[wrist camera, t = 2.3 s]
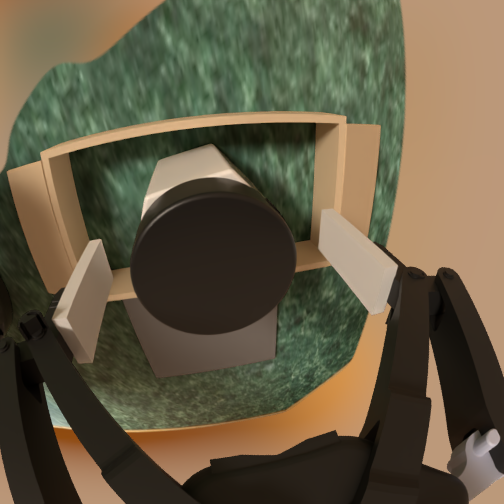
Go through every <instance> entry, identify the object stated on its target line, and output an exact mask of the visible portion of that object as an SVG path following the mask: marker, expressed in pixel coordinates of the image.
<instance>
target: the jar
mask: <svg viewBox="0 0 504 504" xmlns="http://www.w3.org/2000/svg"><path fill="white" fill-rule="evenodd" d="M296 264H297V251H296V245H295V241H294V238H293V235H292V233H291V231H290V229H289V227H288V225H287V224H286V222H285V220H284V218H283V216H281V214H280V212H279V211H278V210H277V209H276V207H275V206H274V205H273V204H272V203H271V202H270V201H269V200H268V199H267V198H265V197H264V196H263V195H262V193H261V192H260V191H259V190H258V189H257V188H256V187H255V185H254V184H253V183H252V182H251V181H250V180H249V179H248V178H247V177H246V176H245V175H244V174H243V173H242V172H241V171H240V170H239V169H238V168H237V167H236V166H235V165H234V164H233V163H232V162H231V161H230V160H229V159H228V158H227V157H226V156H225V155H224V154H223V153H222V152H221V151H220V150H219V149H218V148H217V147H216V146H215V145H214V144H208V145H204V146H201V147H198V148H195V149H191V150H188V151H185V152H182V153H179V154H176V155H172V156H169V157H166V158H163V159H161V160H158V162H157V164H156V167H155V170H154V172H153V175H152V178H151V181H150V184H149V187H148V190H147V193H146V196H145V199H144V204H143V210H142V216H141V222H140V224H139V227H138V230H137V234H136V238H135V242H134V246H133V250H132V254H131V260H130V276H131V281H132V285H133V289H134V291H135V294H136V296H137V298H138V299H139V301H140V303H141V304H142V305H143V307H144V308H145V309H146V310H147V311H148V312H149V313H150V314H151V315H152V316H153V317H154V318H156V319H157V320H158V321H160V322H161V323H163V324H165V325H166V326H168V327H171V328H173V329H175V330H178V331H181V332H185V333H190V334H196V335H218V334H225V333H229V332H233V331H237V330H240V329H242V328H245V327H247V326H249V325H251V324H253V323H255V322H257V321H259V320H260V319H262V318H263V317H264V316H266V315H267V314H268V313H270V312H271V311H272V310H273V309H274V308H275V307H276V306H277V305H278V304H279V303H280V301H281V300H282V299H283V297H284V296H285V294H286V293H287V291H288V289H289V287H290V285H291V283H292V280H293V278H294V274H295V270H296Z"/></svg>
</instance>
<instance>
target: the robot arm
mask: <svg viewBox="0 0 504 504" xmlns="http://www.w3.org/2000/svg"><path fill="white" fill-rule="evenodd" d="M318 249H319V250H320V252H321V253H322V254H323V255H324V256H325V258H326V259H327V260H328V261H329V262H330V264H331V265H332V266H333V267H334V268H335V270H336V271H337V272H338V273H339V275H340V276H341V277H342V278H343V280H344V281H345V282H346V283H347V285H348V286H349V287H350V288H351V290H352V291H353V292H354V293H355V295H356V296H357V297H358V298H359V300H360V301H361V302H362V304H363V305H364V306H365V307H366V309H367V310H368V311H369V313H370V314H371V315H375V314H379V313H382V312H384V310H385V307H386V304H387V303H388V304H389V305H390V306H391V310H390V312H389V315H388V318H387V321H386V324H388V325H387V331H386V336H385V342H384V347H383V352H382V357H381V362H380V367H379V371H378V376H377V380H376V384H375V388H374V392H373V396H372V399H371V404H370V407H369V411H368V414H367V417H366V420H365V424H364V426H363V428H362V431H361V433H360V435H359V437H354V436H338V435H337V432H336V430H334V431H331V432H328V433H326V434H322V435H319V436H316V437H313V438H309V439H307V440H305V441H303V442H301V443H299V444H298V445H296V446H294V447H292V448H290V449H288V450H286V451H284V452H282V453H281V454H278V455H238V456H232V457H225V458H219V459H211V460H210V464H211V466H210V467H207V468H204V469H203V470H200V471H199V472H197V473H196V474H194V475H192V476H191V477H190V478H189V479H188V480H187V481H186V482H185V483H184V484H183V485H180V484H179V483H178V482H177V481H175V480H174V479H173V478H172V477H171V476H170V475H169V474H167V473H166V472H165V471H164V470H163V469H161V467H160V466H158V465H157V464H156V463H155V462H154V461H153V460H152V459H151V458H150V457H149V456H148V455H147V454H146V453H145V452H144V451H143V450H142V449H141V448H140V447H139V446H138V445H137V444H136V443H135V442H134V441H133V440H132V439H131V438H130V436H129V435H128V434H127V433H126V432H125V431H124V430H123V429H122V428H121V426H120V425H119V424H118V423H117V422H116V421H115V420H114V418H113V417H112V416H111V415H110V414H109V412H108V411H107V410H106V409H105V407H104V406H103V405H102V404H101V402H100V401H99V400H98V399H97V397H96V396H95V395H94V393H93V392H92V391H91V389H90V388H89V387H88V385H87V384H86V382H85V381H84V380H83V378H82V377H81V375H80V374H79V372H78V371H77V369H76V368H75V366H74V365H73V364H72V359H73V356H74V357H75V359H76V360H77V362H78V363H79V364H81V363H93V359H94V354H95V350H96V345H97V340H98V336H99V331H100V327H101V323H102V319H103V315H104V311H105V307H106V304H107V300H108V296H109V293H110V289H111V286H112V282H113V279H114V278H113V275H112V272H111V269H110V266H109V263H108V260H107V257H106V253H105V250H104V247H103V243H102V240H101V239H97V240H92V241H89V243H88V245H87V247H86V249H85V250H84V252H83V254H82V256H81V258H80V260H79V262H78V264H77V265H76V267H75V269H74V271H73V273H72V275H71V277H70V279H69V282H68V284H67V286H66V287H64V288H61V289H60V290H59V291H58V292H57V293H56V294H55V296H54V298H53V300H52V303H51V304H50V306H49V308H48V311H47V313H46V315H45V317H43V315H42V313H41V312H40V311H39V310H31V311H29V312H27V313H25V314H24V315H23V316H22V317H21V318H20V320H19V322H18V329H19V330H20V332H21V333H22V335H23V337H24V338H25V340H26V341H23V342H20V343H18V344H16V342H15V341H14V340H13V338H11V337H5V336H6V334H7V332H8V330H9V328H10V325H11V323H12V316H13V313H12V305H11V301H10V297H9V294H8V292H7V289H6V287H5V285H4V283H3V281H2V279H1V277H0V449H1V455H2V460H3V464H4V468H5V473H6V476H7V480H8V484H9V488H10V491H11V494H12V497H13V501H14V504H82V502H81V500H80V498H79V496H78V493H77V491H76V489H75V487H74V484H73V482H72V480H71V477H70V475H69V472H68V470H67V467H66V465H65V462H64V459H63V457H62V454H61V451H60V448H59V445H58V442H57V439H56V435H55V432H54V428H53V425H52V421H51V418H50V414H49V410H48V405H47V401H46V397H45V392H44V387H43V382H45V383H46V385H47V387H48V389H49V391H50V392H51V394H52V396H53V398H54V400H55V402H56V403H57V405H58V407H59V409H60V410H61V412H62V414H63V415H64V417H65V419H66V420H67V422H68V424H69V425H70V427H71V428H72V430H73V431H74V433H75V434H76V436H77V437H78V439H79V440H80V442H81V443H82V445H83V446H84V447H85V449H86V450H87V452H88V453H89V454H90V456H91V457H92V458H93V459H94V461H95V462H96V464H97V465H98V466H99V467H100V469H101V470H102V473H101V474H102V476H103V478H104V479H105V481H106V482H107V483H108V484H109V486H110V487H111V488H112V489H113V490H114V491H115V492H116V494H117V495H118V496H119V497H120V498H121V499H122V500H123V501H124V502H125V503H126V504H469V501H470V500H472V499H473V498H475V497H476V496H477V495H479V494H480V493H481V492H482V491H484V490H485V489H486V488H488V487H489V486H490V485H491V484H492V483H494V482H495V481H497V480H498V479H500V478H502V477H503V476H504V377H503V374H502V371H501V368H500V365H499V362H498V360H497V357H496V354H495V351H494V349H493V346H492V344H491V341H490V339H489V336H488V334H487V332H486V329H485V327H484V325H483V323H482V321H481V318H480V316H479V314H478V312H477V310H476V308H475V305H474V303H473V301H472V299H471V297H470V295H469V294H468V292H467V290H466V288H465V286H464V284H463V282H462V280H461V279H460V277H459V275H458V274H457V273H456V272H455V271H454V270H453V269H450V268H445V267H444V268H443V267H442V268H439V269H438V272H437V275H436V276H427V275H426V274H425V273H424V272H423V271H422V270H420V269H418V268H416V267H406V266H405V265H404V264H403V263H401V262H400V261H399V260H398V259H397V258H396V257H395V256H393V255H392V254H391V253H390V252H388V250H387V249H386V248H385V247H384V246H382V245H380V244H378V243H376V242H372V241H371V240H369V239H368V238H367V237H366V236H365V235H364V234H363V233H361V232H360V231H359V230H358V229H357V228H356V227H354V226H353V225H352V224H351V223H350V222H348V221H347V220H346V219H345V218H344V217H342V216H341V215H340V214H339V213H338V212H336V211H335V210H334V209H322V212H321V224H320V236H319V246H318ZM429 337H430V340H431V345H432V349H433V353H434V357H435V361H436V365H437V370H438V375H439V380H440V385H441V390H442V396H443V402H444V407H445V414H446V422H447V430H448V436H449V441H450V445H451V448H452V454H451V459H450V461H449V462H448V464H447V469H448V471H449V472H450V473H451V474H449V473H446V472H443V471H440V470H437V469H435V468H432V467H429V466H427V465H424V464H422V461H423V456H424V451H425V446H426V439H427V433H428V428H429V421H430V413H431V399H430V398H428V397H426V387H427V376H428V360H429Z"/></svg>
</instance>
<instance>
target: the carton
mask: <svg viewBox="0 0 504 504" xmlns="http://www.w3.org/2000/svg"><path fill="white" fill-rule="evenodd" d="M272 122H314V123H316V140H315V170H314V191H313V208H312V223H311V237H310V240H308V241H301V242H295V245H296V251H297V264H296V270H295V272H300V271H305V270H310V269H316V268H321V267H326V266H332V265H331V264H330V262H329V261H328V260H327V259H326V258H325V256H324V255H323V254H322V253H321V252H320V250H319V249H318V246H319V236H320V224H321V212H322V209H334V210H335V211H336V212H338V213H339V214H340V215H341V216H342V217H344V218H345V219H346V220H347V221H348V222H350V223H351V224H352V225H353V226H354V227H356V228H357V229H358V230H359V231H360V232H361V233H363V234H364V235H365V236H366V237H368V231H369V225H370V219H371V213H372V206H373V199H374V191H375V183H376V175H377V165H378V155H379V143H380V128H381V125H371V124H346V116H342V115H336V114H329V113H323V112H295V111H270V112H241V113H225V114H212V115H201V116H192V117H184V118H176V119H169V120H162V121H156V122H150V123H144V124H138V125H133V126H128V127H123V128H118V129H114V130H109V131H105V132H101V133H96V134H92V135H89V136H85V137H81V138H77V139H74V140H70V141H67V142H63V143H60V144H58V145H56V146H53V147H51V148H49V149H47V150H45V151H43V152H40V154H41V159H42V160H41V161H38V162H34V163H31V164H27V165H24V166H21V167H18V168H15V169H11V170H8V171H7V175H8V179H9V183H10V188H11V191H12V195H13V199H14V203H15V206H16V210H17V213H18V216H19V219H20V223H21V226H22V229H23V232H24V235H25V237H26V240H27V243H28V246H29V248H30V251H31V254H32V256H33V259H34V261H35V264H36V266H37V268H38V271H39V273H40V275H41V278H42V280H43V282H44V284H45V286H46V289H47V291H48V293H51V294H56V293H57V292H58V291H59V290H60V289H61V288H64V287H66V286H67V284H68V282H69V279H70V277H71V275H72V273H73V271H74V269H75V267H76V265H77V264H78V262H79V260H80V258H81V256H82V254H83V252H84V250H85V249H86V247H87V245H88V243H89V237H88V234H87V230H86V227H85V223H84V220H83V216H82V212H81V208H80V205H79V201H78V196H77V192H76V188H75V183H74V178H73V174H72V169H71V163H70V158H69V152H72V151H75V150H79V149H83V148H87V147H91V146H95V145H99V144H103V143H108V142H112V141H117V140H122V139H127V138H132V137H137V136H142V135H148V134H154V133H160V132H167V131H174V130H181V129H189V128H198V127H207V126H218V125H231V124H247V123H272ZM111 272H112V275H113V278H114V279H113V282H112V286H111V289H110V293H109V296H108V300H107V302H108V301H115V300H123V299H130V298H137V296H136V294H135V291H134V289H133V285H132V281H131V276H130V267H128V268H122V269H115V270H111Z"/></svg>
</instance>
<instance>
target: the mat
mask: <svg viewBox="0 0 504 504" xmlns="http://www.w3.org/2000/svg"><path fill="white" fill-rule="evenodd" d="M123 303H124V305H125V308H126V310H127V313H128V316H129V318H130V320H131V323H132V325H133V328H134V330H135V332H136V335H137V337H138V339H139V342H140V344H141V346H142V348H143V351H144V353H145V355H146V357H147V359H148V361H149V364H150V366H151V368H152V370H153V372H154V374H155V376H156V378H163V377H171V376H179V375H187V374H194V373H200V372H207V371H213V370H219V369H225V368H230V367H236V366H241V365H246V364H251V363H256V362H260V361H265V360H269V359H274V358H275V349H276V327H277V306H276V307H275V308H274V309H273V310H272V311H271V312H270V313H268V314H267V315H266V316H264V317H263V318H262V319H260V320H259V321H257V322H255V323H253V324H251V325H249V326H247V327H245V328H242V329H240V330H237V331H233V332H229V333H225V334H218V335H196V334H190V333H185V332H181V331H178V330H175V329H173V328H171V327H168V326H166V325H165V324H163V323H161V322H160V321H158V320H157V319H156V318H154V317H153V316H152V315H151V314H150V313H149V312H148V311H147V310H146V309H145V308H144V307H143V305H142V304H141V303H140V301H139V299H138V298H130V299H123Z"/></svg>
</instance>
